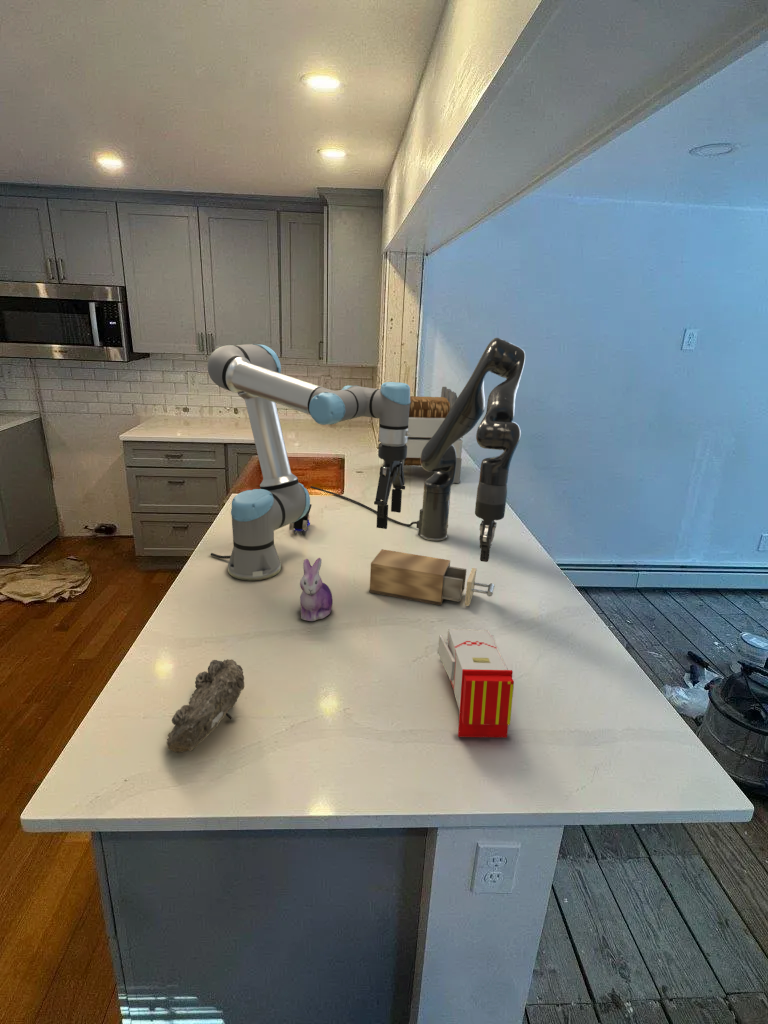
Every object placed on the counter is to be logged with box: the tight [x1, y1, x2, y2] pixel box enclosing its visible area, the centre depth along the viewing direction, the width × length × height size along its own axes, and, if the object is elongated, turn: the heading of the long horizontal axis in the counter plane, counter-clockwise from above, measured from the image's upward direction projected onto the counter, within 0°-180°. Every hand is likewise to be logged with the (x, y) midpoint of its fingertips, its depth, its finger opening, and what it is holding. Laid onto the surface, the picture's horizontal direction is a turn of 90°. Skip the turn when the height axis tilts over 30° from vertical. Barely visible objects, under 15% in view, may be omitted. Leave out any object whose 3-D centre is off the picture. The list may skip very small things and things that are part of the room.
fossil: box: [166, 658, 245, 754], centre depth 106 cm, size 22×10×15 cm
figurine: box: [299, 557, 333, 622], centre depth 143 cm, size 9×10×15 cm
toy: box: [437, 628, 515, 738], centre depth 117 cm, size 12×13×30 cm
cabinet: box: [369, 548, 451, 606], centre depth 158 cm, size 20×10×9 cm, turn 73°
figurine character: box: [288, 503, 313, 535], centre depth 199 cm, size 7×8×15 cm
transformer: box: [383, 386, 464, 484], centre depth 268 cm, size 34×33×41 cm
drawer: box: [442, 565, 495, 607], centre depth 156 cm, size 25×9×7 cm, turn 73°
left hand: (389, 519), depth 155 cm, fingers open, 13 cm apart
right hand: (484, 560), depth 151 cm, fingers closed
